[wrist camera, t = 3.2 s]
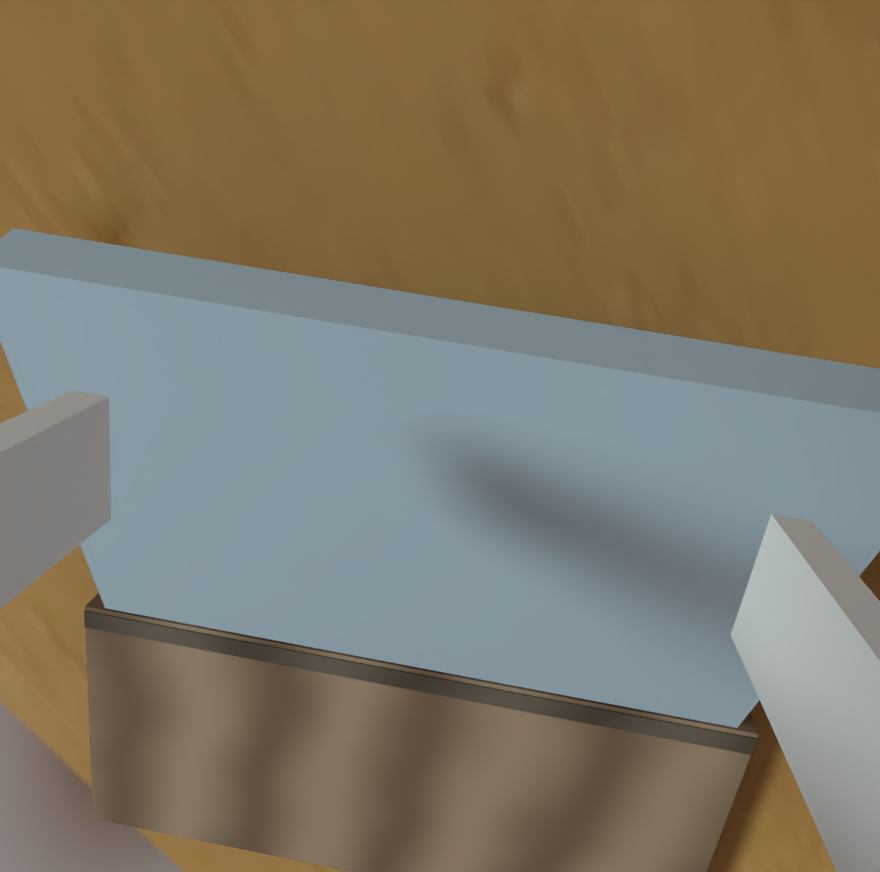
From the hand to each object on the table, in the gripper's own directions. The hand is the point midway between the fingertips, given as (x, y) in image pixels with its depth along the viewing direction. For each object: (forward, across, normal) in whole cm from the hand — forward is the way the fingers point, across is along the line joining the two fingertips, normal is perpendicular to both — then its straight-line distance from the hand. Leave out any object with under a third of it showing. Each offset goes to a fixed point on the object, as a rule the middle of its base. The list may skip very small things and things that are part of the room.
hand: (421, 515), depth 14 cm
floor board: (+14, 0, -19) cm, 23 cm away
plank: (+12, 0, -13) cm, 17 cm away
